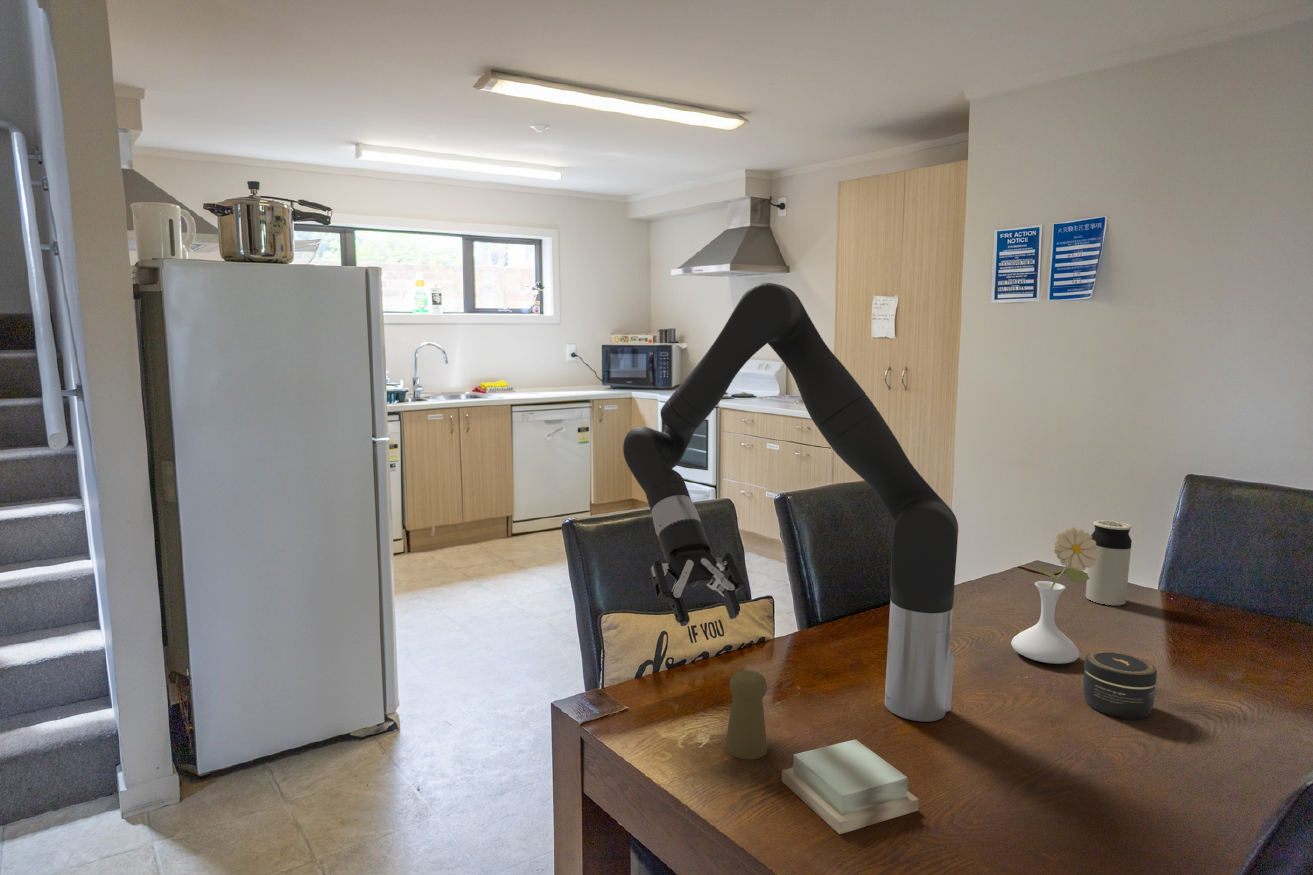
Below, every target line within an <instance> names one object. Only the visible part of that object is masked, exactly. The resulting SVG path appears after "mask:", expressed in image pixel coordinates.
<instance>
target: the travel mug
mask: <svg viewBox="0 0 1313 875" xmlns="http://www.w3.org/2000/svg"><path fill="white" fill-rule="evenodd" d="M1093 525H1094V530H1093V532H1092V534H1090V535H1091V536H1092V539H1091V540H1095V541H1096V545H1097V546H1098V547H1099V553H1097V554H1098V555H1099V558H1098V559H1096V563H1097V564H1096V565H1092V567H1091V568H1087V573H1086V574H1087V575H1088V577H1089V578H1090V579H1088V580H1086V586H1085V598H1086V599H1088V600H1089V601H1090V600H1091V601H1090V602H1092V601H1093V602H1092V603H1095V602H1096V603H1095V604H1098V603H1099V604H1100V605H1102V604H1105V605H1104V606H1109V605H1111V606H1110V607H1119V606H1123V605H1126V603H1127V591H1128V581H1129V572H1130V561H1131V552H1132V551H1131V550H1132V543H1133V542H1132V541H1133V540H1132V538H1131V536H1130V530H1131V529H1132V525H1131V524H1129V523H1125V522H1121V521H1116V520H1095V521H1093ZM1099 604H1098V605H1099Z"/></svg>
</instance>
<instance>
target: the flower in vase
mask: <svg viewBox="0 0 1313 875" xmlns="http://www.w3.org/2000/svg"><path fill="white" fill-rule="evenodd" d="M1091 535H1092V534H1090V533H1089V532H1088V531H1084V529H1083V528H1080V529H1078V528H1076V527H1070V529H1069V528H1067V529H1065V530H1064V532H1063V531H1061V532H1059V533H1057V536H1056V537H1055V540H1056V541H1054V544H1053V545H1054V546H1053V547H1054V548H1053V553H1054V554H1055V555H1056V558H1057V559H1058V560H1059V563H1060V564H1061V565H1062V566H1063V565H1064V566H1065V567H1064V568H1063V569H1062V571H1061V572H1060V573H1059V575H1058V576H1056V575H1055V574H1054V573H1052V572H1049V571H1046V570H1044V569H1043V568H1042V567H1040V565H1038V566H1037V568H1038V571H1039V572H1040V573H1042V574H1044V575H1046V576H1049V577H1051V578H1052V579H1055V580H1054V581H1047V580H1045V581H1044V580H1042V581H1041V580H1039V581H1035V582H1034V585H1035V586H1036V588H1037V590H1038V592H1039V595H1040V596H1039V597H1040V602H1041V604H1040V606H1041V609H1040V617H1039V620H1038V622H1037V623H1036V624H1034V625H1033V626H1031V627H1029V628H1027V629H1024V630H1022V631H1020V632H1019V633H1018V634H1016V635H1015V636H1014V637H1013V638H1012V640H1011V643H1010V645H1011V647H1012V648H1013V650H1014V651H1015V652H1017V653H1018V654H1019V655H1022V656H1024V657H1026V658H1027V659H1030V660H1033V661H1037V662H1040V663H1046V664H1056V665H1059V664H1069V663H1073V662H1075V661H1077V659H1078V658H1079V657H1080V652H1079V649H1078V647H1077V646H1076V645H1075V644H1074V642H1073V641H1072V640H1071V639H1070V638H1068V636H1066V635H1065V634H1064V633H1063V632H1062V630H1060V629H1059V628H1058V627H1057V625H1056V622H1055V611H1056V606H1057V602H1058V599H1059V597H1060V595H1061V594H1062V592H1064V590H1066V586H1065V585H1064V584H1061V583H1057V582H1058V581H1059V580H1060V578H1061V577H1062V576H1063V575H1064V574H1065V575H1066V576H1067V577H1068V578H1069V580H1071V581H1072V582H1084V581H1087V580H1088V579H1090V578H1089V577H1088V575H1087V574H1088V573H1086V572H1085V570H1086V568H1087V569H1088V568H1091V567H1092V565H1096V564H1097V563H1096V559H1098V558H1099V555H1098V554H1097V553H1099V547H1098V546H1097V545H1096V541H1095V540H1091V539H1092V536H1091ZM1067 568H1068V569H1067Z"/></svg>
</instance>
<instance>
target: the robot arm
mask: <svg viewBox="0 0 1313 875" xmlns="http://www.w3.org/2000/svg"><path fill="white" fill-rule="evenodd" d="M766 345H769V347H771V349H772V350H773V351H774V352H775V353H776V355H777V356H778V357H779V359H780V360H781V361H782V362H783V363H784V365H785V367H786V368H787V369H788V370H789V372H790V374H791V375H792V376H791V377H793V380H794V382H795V384H796V387H797V389H798V393H799V395H800V397H801V399H802V402H803V404H804V407H805V408H806V410H807V413H808V414H809V416H810V418H811V420H812V422H813V423H814V425H815V426H816V427H817V429H818V431H819V432H820V434H821V435H822V436H823V438H824V439H825V441H826V442H827V443H828V445H829V446H830V448H831V449H832V450H833V451H834V452H835V454H836V455H838V457H839V458H840V459H841V460H842V461H843V462H844V463H845V464H846V465H847V466H848V467H849V468H850V469H851V470H852V471H854V473H856V474H857V475H858V476H859V477H861V479H862V480H863V481H865V482H866V483H867V485H869V486H870V488H871V489H872V490H873V492H875V494H876V495H877V497H878V498H879V500H880V501H881V503H882V505H883V507H884V508H885V510H886V511H887V513H888V515H889V516H890V518H891V520H892V522H893V524H894V525H893V530H892V540H891V558H890V559H891V560H890V577H889V578H890V579H889V580H890V581H889V582H890V584H889V586H890V601H889V602H890V603H889V619H888V636H887V654H886V655H887V656H886V672H885V687H884V688H885V691H884V706H885V708H886V709H887V710H888V711H889V712H890V713H892V714H894V715H895V716H897V717H900V718H902V719H906V720H911V721H915V722H934V721H939V720H941V719H943V718H944V717H945V716H946V713H947V712H950V711H951V707H952V695H953V694H952V692H953V679H954V668H955V666H954V664H955V653H954V652H953V651H951V640H952V626H953V623H952V622H953V613H954V612H953V610H954V609H953V608H954V597H955V587H956V586H955V581H956V568H957V567H956V566H957V553H958V542H959V541H958V538H959V523H958V520H957V517H956V515H955V513H954V510H952V509H951V507H949V505H948V504H947V503H946V502H945V501H944V500H943V499H942V498H941V497H940V496H939V495H938V494H937V492H936V491H935V490H934V489H933V488H932V487H931V486H930V485H929V483H928V482H927V481H926V480H925V479H924V478H923V477H922V475H921V474H920V473H919V472H918V470H917V469H916V468H915V467H914V466H913V464H912V463H911V461H910V460H909V458H908V456H907V455H906V453H905V450H903V448H902V446H901V444H900V443H899V441H898V439H897V438H896V436H895V434H894V433H893V431H892V430H891V428H890V427H889V425H888V423H887V422H886V420H885V419H884V418H883V416H882V414H881V413H880V411H879V410H878V408H877V407H876V406H875V404H874V403H873V402H872V400H871V399H870V397H869V396H868V395H867V394H866V392H865V390H864V389H863V388H862V386H860V384H859V383H858V382H857V380H856V379H855V378H854V377H853V375H852V374H851V373H850V372H849V370H848V369H847V368H846V367H845V366H844V364H843V363H842V362H841V361H840V360H839V359H838V357H837V356H835V354H834V353H833V351H832V350H831V349H830V348H829V346H828V345H827V344H826V343H825V341H824V340H823V338H822V336H821V334H820V333H819V331H818V329H817V327H816V326H815V324H814V323H813V321H812V319H811V317H810V316H809V314H808V312H807V310H806V308H805V307H804V304H803V303H802V301H801V299H800V298H799V296H798V295H797V294H796V292H794V291H793V290H792V289H791V288H789V287H787V286H784V285H783V284H778V283H774V282H760V283H757V284H755V285H753V286H751V287H749V288H748V289H747V290H745V292H744V293H743V295H742V296H741V298H740V300H739V301H738V302H737V304H736V306H735V307H734V309H733V311H732V313H731V314H730V316H729V317H728V319H727V320H726V323H725V325H724V327H723V328H722V330H721V331H720V333H719V334H718V336H717V337H716V339H715V340H714V342H713V343H712V345H711V346H710V347H709V349H708V350H707V351H706V353H705V354H704V355H703V357H702V358H701V360H700V361H699V362H698V363H697V364H696V366H695V367H694V368H693V369H692V371H691V372H690V373H689V374H688V376H686V377H685V379H684V380H683V381H682V382H681V384H679V386H678V387H677V388H676V390H675V391H674V392H672V394H671V395H670V397H669V398H668V399H667V400H666V401H665V403H664V404H663V405H662V407H661V408H660V418H661V420H662V421H663V424H665V425H666V428H665V430H663V431H659V430H656V429H653V428H650V427H647V426H641V425H639V426H636V427H635V426H634V427H633V428H632V429H630V430H629V431H628V432H627V434H626V435H625V438H624V440H623V444H622V450H623V458H624V461H625V463H626V465H627V467H628V468H629V469H628V470H630V472H631V474H632V475H633V477H634V478H635V480H636V482H637V483H638V485H639V486H640V487H641V489H642V490H643V492H644V494H645V497H646V500H647V503H648V506H649V509H650V512H651V515H652V523H653V527H654V529H655V533H656V536H657V539H658V543H659V544H660V548H661V550H662V554H663V557H664V559H665V561H666V563H665V562H664V563H663V562H661V561H660V560H655V561H654V563H653V564H652V566H651V568H650V569H649V574H650V577H651V581H652V586H653V589H654V594H655V598H656V601H657V602H658V603H663V602H664V603H668V604H669V605H670V606H671V609H672V612H673V616H674V620H675V621H676V623H678V624H679V625H680V626H681V627H684V626H685V627H686V626H688V624H690V620H691V619H690V615H689V613H688V609H687V606H686V603H685V600H684V598H683V597H682V593H683V591H684V590H685V589H684V588H687V590H688V589H689V590H690V589H693V588H695V587H697V588H699V587H700V588H702V587H706V586H707V587H708V588H709V589H711V590H712V591H716V592H717V593H719V595H721V596H722V597H723V598H722V600H723V603H724V606H725V609H726V612H727V615H728V617H729V619H730V620H735V619H736V618H737V617H739V615H740V612H741V605H740V603H739V600H738V597H737V595H736V593H737V592H738V591H739V590H740V589H741V587H743V585H744V581H743V578H742V576H741V574H740V572H739V570H738V568H737V565H736V563H735V560H734V559H733V555H732V554H731V553H729V552H726V553H725V554H724V555H723V556H720V557H719V556H718V557H715V556H714V554H713V553H712V551H711V548H710V547H711V546H710V542H709V540H708V538H707V534H706V531H705V528H704V526H703V524H702V521H701V518H700V516H699V513H698V511H697V508H696V507H695V506H696V505H695V504H694V503H693V500H692V498H691V495H690V493H689V490H688V487H687V485H686V482H685V480H684V478H683V475H681V473H679V472H678V471H676V470H675V469H674V468H676V466H677V465H679V463H680V462H681V461H682V458H683V457H684V454H685V453H686V450H687V448H688V446H689V445H690V442H691V441H692V438H693V435H694V433H695V431H696V430H697V429H698V428H699V427H700V426H701V424H702V423H703V422H704V421H705V420H706V419H707V417H709V415H710V414H711V413H712V412H713V411H714V409H716V407H717V406H718V404H720V401H721V400H722V399H723V398H724V396H725V394H726V392H727V390H728V389H729V388H730V386H731V383H732V382H733V381H734V379H735V378H736V376H737V375H738V373H739V372H740V370H741V369H742V368H743V367H744V365H745V364H746V363H747V362H748V361H749V360H750V359H751V358H752V357H753V356H754V355H755V354H757V352H759V351H760V350H761V349H762V348H764V347H765V346H766ZM717 567H718V568H719V569H717ZM667 573H668V574H669V575H670V576H671V577H672V578H673V579H674V580H675V581H674V583H673V587H672V589H671V590H669V587H668V583H667V579H666V575H667ZM713 578H715V580H714V579H713Z"/></svg>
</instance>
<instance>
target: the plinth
mask: <svg viewBox="0 0 1313 875" xmlns="http://www.w3.org/2000/svg"><path fill="white" fill-rule="evenodd" d="M792 764H793V765H792V767H790V768H784V769H782V771H781V782H782V783H783V784H784V785H785V786H786V787H787V788H789V790H790V791H792V792H793V793H794V795H796V796H797V797H798V798H800V800H802V801H803V802H804V803H805V804H806V805H807V806H808V807H809V808H810V809H811V810H812V811H814V813H815V814H816V815H817V816H819V817H820V819H822V820H823V821H824V822H825V823H826V824H828V826H830V828H831V829H833V830H834V831H835V832H836V833H838V835H842V834H845V833H848V832H852V831H855V830H859V829H863V828H865V827H868V826H872V825H876V824H879V823H881V822H885V821H888V820H892V819H894V818H898V817H901V816H904V815H908V814H911V813H915V812H918V811H919V803H920V799H919V798H918V797H916V795H914V794H913V793H911V792H910V791H909V790H908V785H909V784H908V782H909V777H907V775H905V774H904V773H903V772H901V771H900V770H898V769H897V768H896V767H894V766H893V765H891V764H890V763H889V762H887V761H886V760H884V759H883V758H882V757H880V756H879V755H878V754H877V753H875V752H874V751H872V750H871V749H869V748H868V747H867V746H866V745H864V744H862V743H861V742H860V741H859V740H857V739H855V738H854V739H851V740H848V741H843V742H839V743H835V744H831V745H827V746H823V747H819V748H815V749H810V750H807V751H803V752H799V753H794V754H793V761H792Z"/></svg>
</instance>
